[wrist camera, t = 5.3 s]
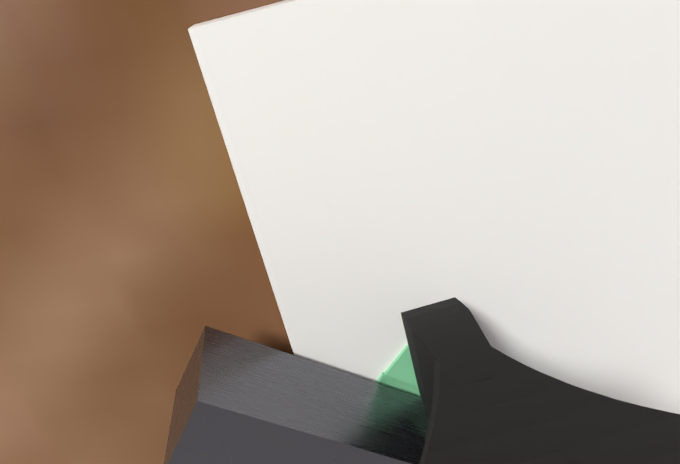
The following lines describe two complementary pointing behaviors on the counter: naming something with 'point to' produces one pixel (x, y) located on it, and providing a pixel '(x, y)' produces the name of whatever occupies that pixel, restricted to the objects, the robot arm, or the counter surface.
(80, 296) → the counter surface
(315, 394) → the dial pointer
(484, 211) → the dial board
